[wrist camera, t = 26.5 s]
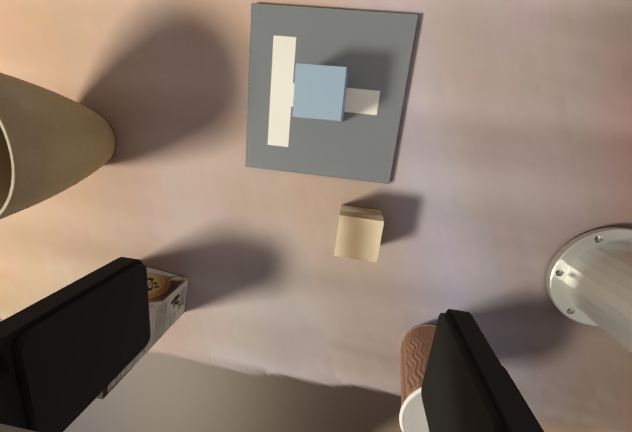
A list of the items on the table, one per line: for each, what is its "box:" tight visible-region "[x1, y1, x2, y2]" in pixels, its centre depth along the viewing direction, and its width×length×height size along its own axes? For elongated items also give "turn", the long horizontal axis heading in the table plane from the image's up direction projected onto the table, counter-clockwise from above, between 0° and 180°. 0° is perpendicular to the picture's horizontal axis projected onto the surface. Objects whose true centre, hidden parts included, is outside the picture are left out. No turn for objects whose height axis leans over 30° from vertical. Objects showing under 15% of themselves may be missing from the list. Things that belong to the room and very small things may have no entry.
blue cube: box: [292, 63, 348, 122], centre depth 33 cm, size 5×5×5 cm
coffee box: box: [96, 267, 188, 399], centre depth 39 cm, size 9×6×16 cm
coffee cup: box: [399, 325, 436, 432], centre depth 38 cm, size 10×10×12 cm
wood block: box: [334, 205, 384, 262], centre depth 38 cm, size 5×5×5 cm
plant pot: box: [0, 73, 115, 219], centre depth 34 cm, size 15×15×16 cm
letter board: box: [246, 3, 418, 184], centre depth 36 cm, size 18×18×1 cm
